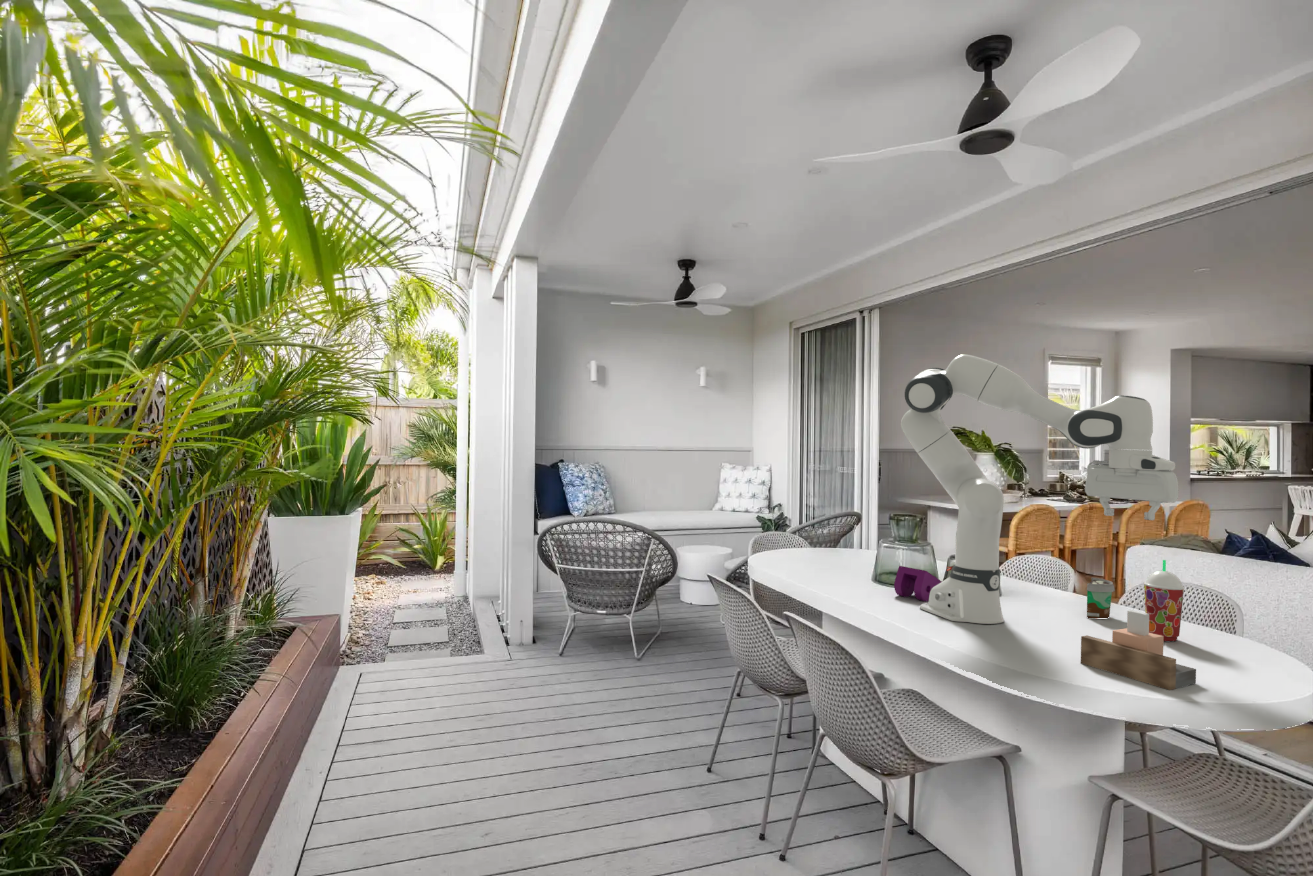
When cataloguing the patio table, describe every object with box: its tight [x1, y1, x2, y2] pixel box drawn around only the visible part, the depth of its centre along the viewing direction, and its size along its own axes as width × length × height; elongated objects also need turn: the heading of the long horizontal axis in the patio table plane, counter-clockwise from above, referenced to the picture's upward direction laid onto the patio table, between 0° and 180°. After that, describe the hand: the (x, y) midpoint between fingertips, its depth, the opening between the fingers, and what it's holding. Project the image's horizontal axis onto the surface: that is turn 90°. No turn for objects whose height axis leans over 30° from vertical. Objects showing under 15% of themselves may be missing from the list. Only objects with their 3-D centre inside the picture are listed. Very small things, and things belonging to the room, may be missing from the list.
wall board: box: [1080, 635, 1197, 691], centre depth 150 cm, size 18×10×6 cm, turn 27°
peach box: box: [1111, 609, 1164, 656], centre depth 150 cm, size 7×6×10 cm
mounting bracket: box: [893, 565, 942, 603], centre depth 220 cm, size 9×8×18 cm
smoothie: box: [1143, 559, 1185, 642], centre depth 177 cm, size 8×8×20 cm
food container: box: [1086, 577, 1116, 619], centre depth 199 cm, size 12×6×10 cm, turn 143°
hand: (1128, 517), depth 172 cm, fingers open, 8 cm apart
